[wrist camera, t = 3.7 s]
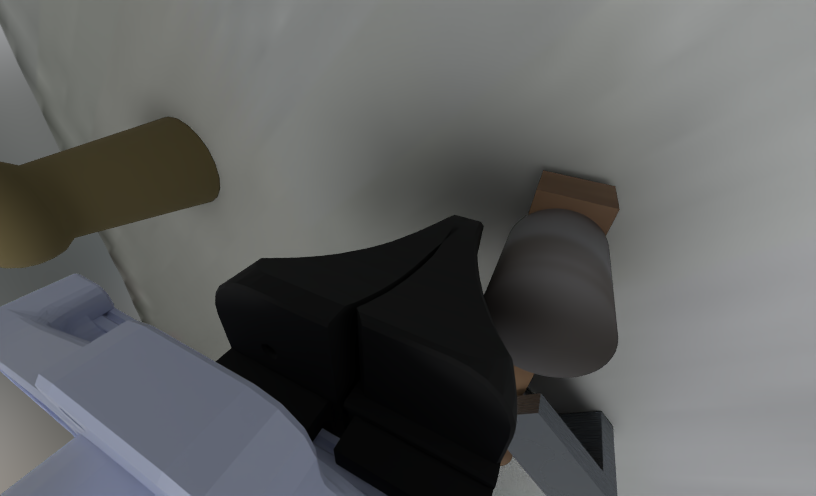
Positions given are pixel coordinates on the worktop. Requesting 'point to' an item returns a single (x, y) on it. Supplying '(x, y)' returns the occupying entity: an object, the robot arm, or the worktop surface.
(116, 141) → the cork
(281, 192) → the worktop surface
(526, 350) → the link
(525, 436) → the keeper
